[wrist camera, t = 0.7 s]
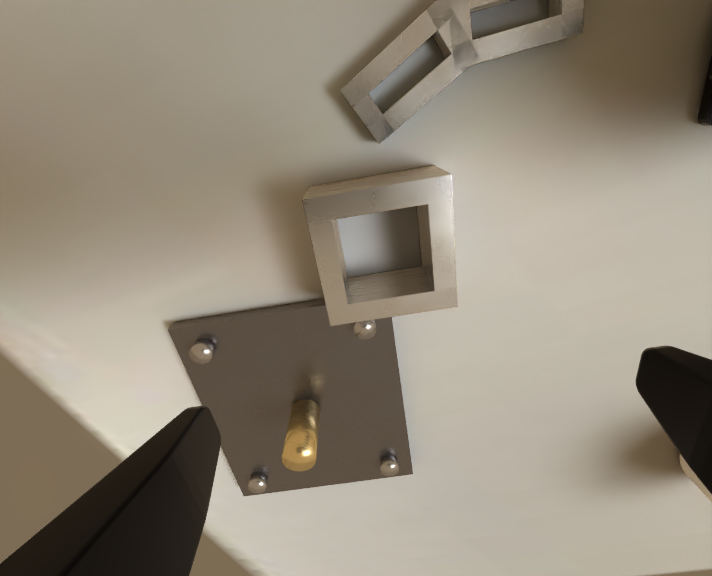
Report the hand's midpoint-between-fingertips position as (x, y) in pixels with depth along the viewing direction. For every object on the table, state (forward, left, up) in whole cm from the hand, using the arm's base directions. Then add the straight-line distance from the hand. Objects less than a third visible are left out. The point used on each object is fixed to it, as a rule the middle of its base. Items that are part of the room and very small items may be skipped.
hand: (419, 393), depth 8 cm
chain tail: (-4, -7, -12) cm, 14 cm away
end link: (0, 0, -12) cm, 12 cm away
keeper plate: (+6, +10, -12) cm, 17 cm away
